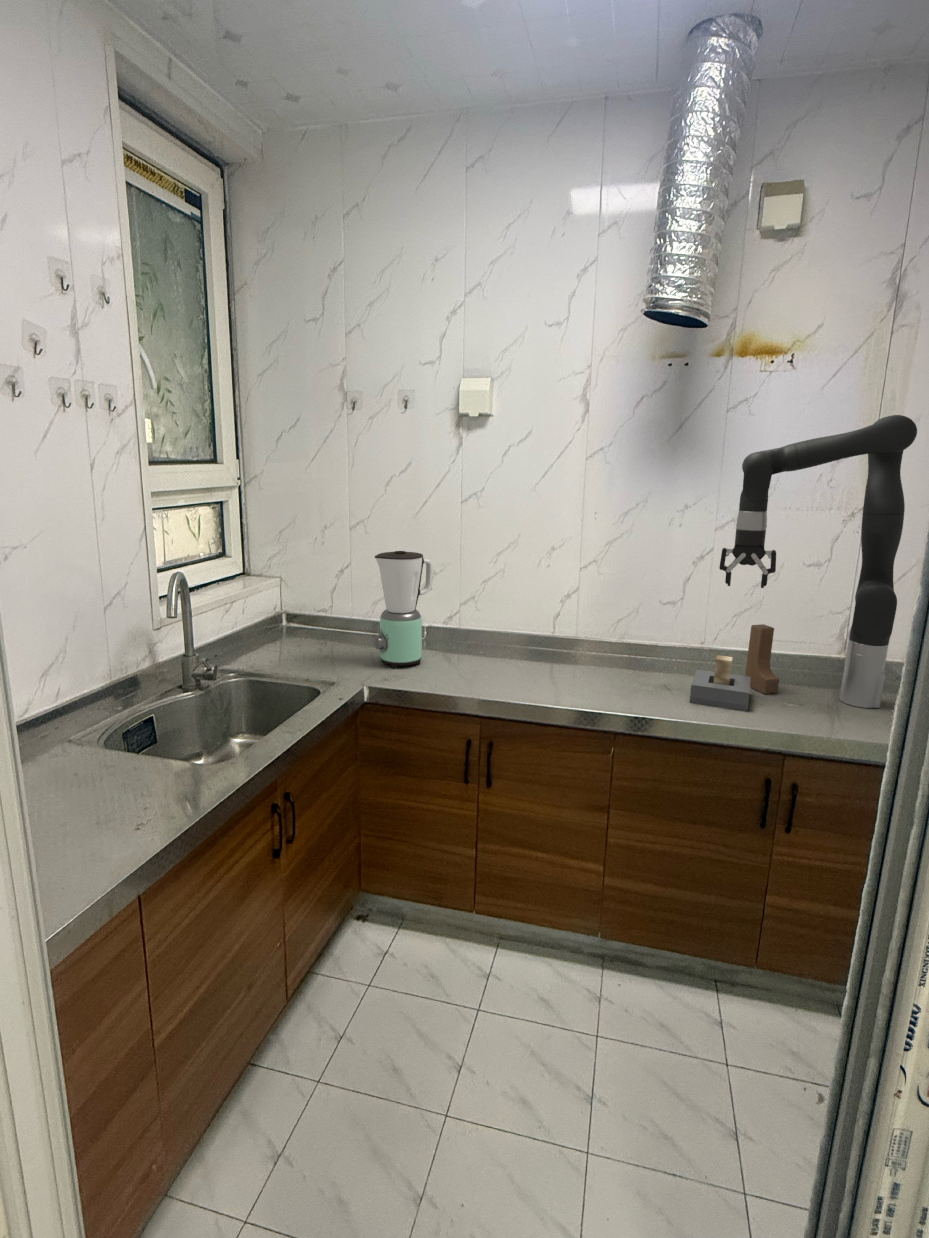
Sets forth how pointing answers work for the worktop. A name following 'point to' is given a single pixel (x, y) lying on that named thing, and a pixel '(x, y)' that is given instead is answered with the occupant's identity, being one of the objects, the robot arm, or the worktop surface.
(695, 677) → the socket stand
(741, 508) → the robot arm
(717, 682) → the beech peg
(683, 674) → the worktop surface
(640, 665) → the worktop surface
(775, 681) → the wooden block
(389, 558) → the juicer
